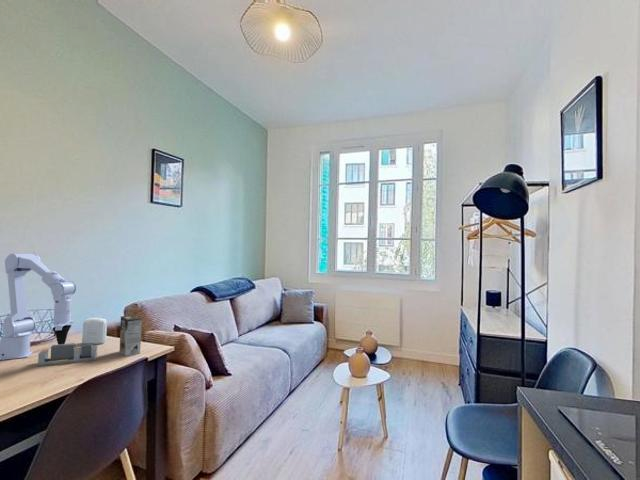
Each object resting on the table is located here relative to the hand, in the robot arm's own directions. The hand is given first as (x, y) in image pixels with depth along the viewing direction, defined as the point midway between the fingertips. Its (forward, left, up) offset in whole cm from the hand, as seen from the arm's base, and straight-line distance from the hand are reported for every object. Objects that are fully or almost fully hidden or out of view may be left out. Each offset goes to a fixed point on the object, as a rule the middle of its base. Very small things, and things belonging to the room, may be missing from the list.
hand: (61, 343), depth 137 cm
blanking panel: (+1, 0, -8) cm, 8 cm away
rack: (+3, 0, -7) cm, 8 cm away
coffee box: (+25, +3, -8) cm, 26 cm away
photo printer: (+9, +25, -8) cm, 28 cm away
